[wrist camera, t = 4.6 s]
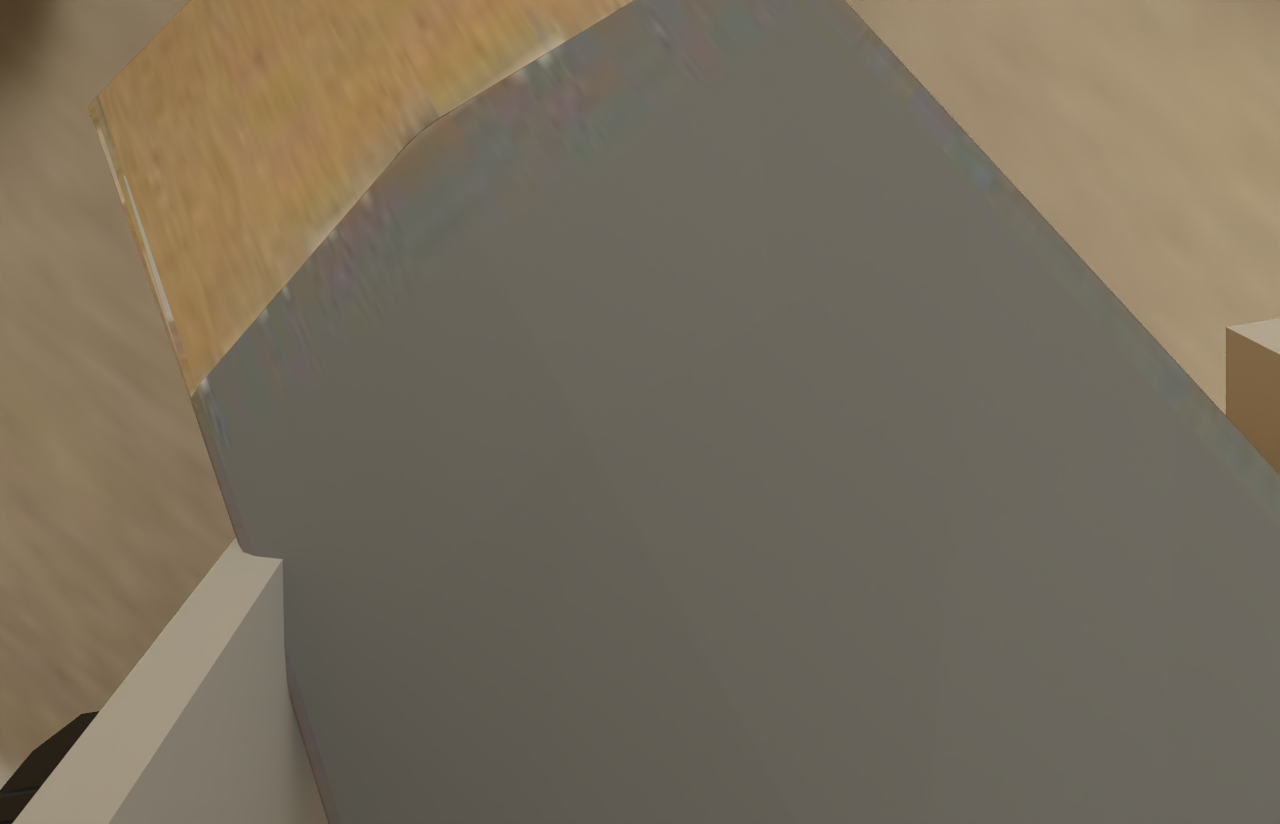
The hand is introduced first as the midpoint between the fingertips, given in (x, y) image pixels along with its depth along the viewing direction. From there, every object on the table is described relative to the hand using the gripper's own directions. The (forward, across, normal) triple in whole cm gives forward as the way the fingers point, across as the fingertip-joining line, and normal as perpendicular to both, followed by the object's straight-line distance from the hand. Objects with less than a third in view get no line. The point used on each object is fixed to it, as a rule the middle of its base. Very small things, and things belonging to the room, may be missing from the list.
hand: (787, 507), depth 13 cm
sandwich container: (+4, -1, +1) cm, 4 cm away
